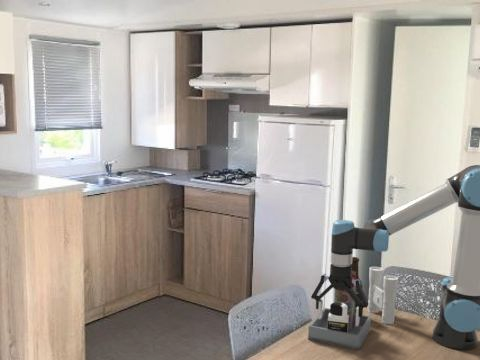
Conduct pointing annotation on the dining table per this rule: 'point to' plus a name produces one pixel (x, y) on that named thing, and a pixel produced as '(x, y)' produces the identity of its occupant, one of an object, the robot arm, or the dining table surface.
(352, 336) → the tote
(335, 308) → the medicine bottle
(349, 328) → the juice carton
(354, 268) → the beer bottle
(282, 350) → the dining table surface
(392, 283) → the binoculars
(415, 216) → the robot arm
